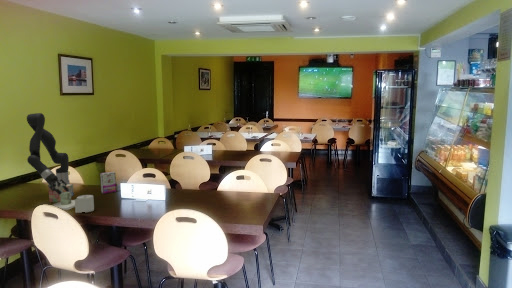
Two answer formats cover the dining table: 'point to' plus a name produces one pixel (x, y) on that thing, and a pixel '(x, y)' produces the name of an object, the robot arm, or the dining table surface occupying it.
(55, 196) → the colorful patterned box
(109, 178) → the candy bar box
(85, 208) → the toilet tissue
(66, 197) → the sage block
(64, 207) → the cutting board
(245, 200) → the dining table surface
